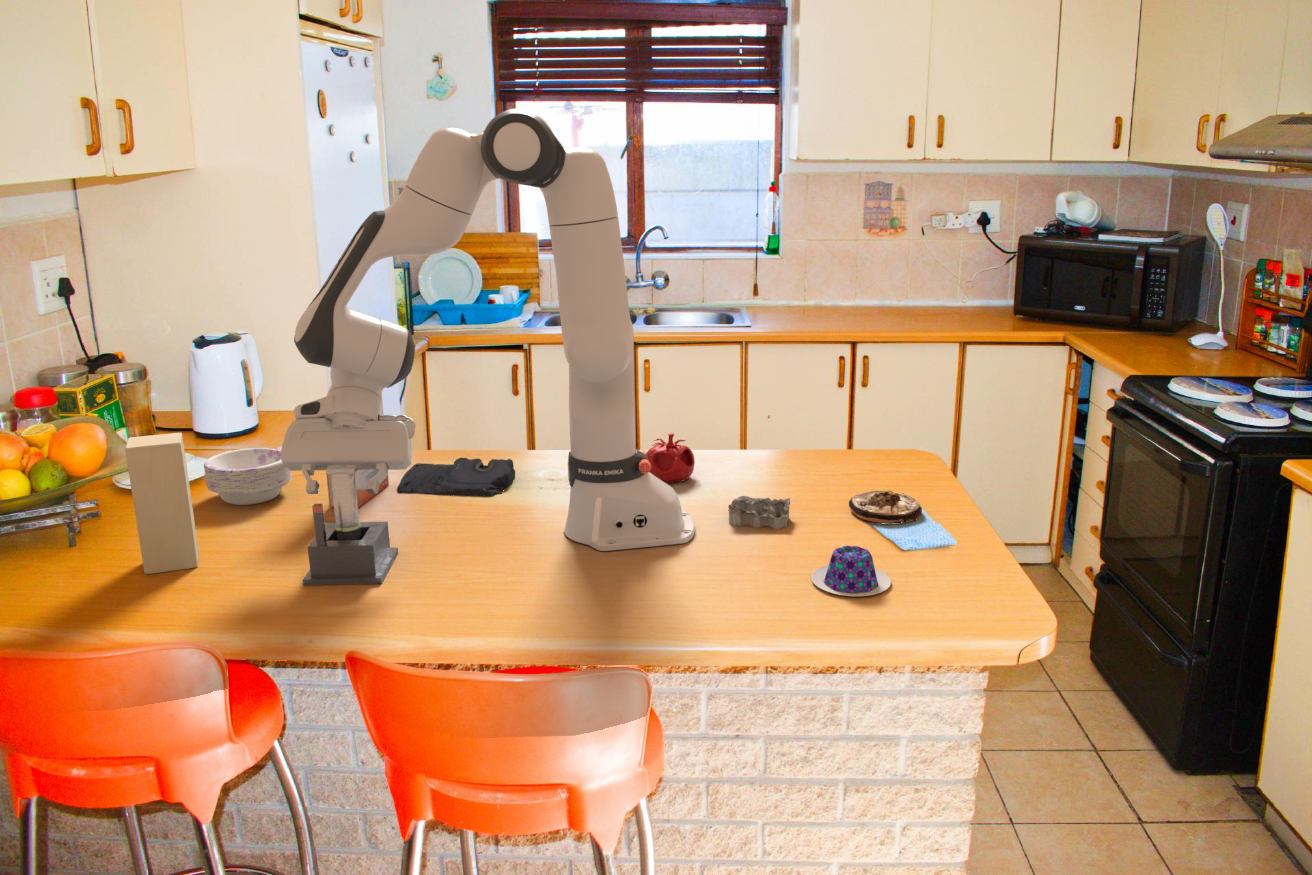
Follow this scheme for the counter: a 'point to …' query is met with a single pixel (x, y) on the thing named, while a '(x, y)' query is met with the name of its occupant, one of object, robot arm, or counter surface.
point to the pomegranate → (671, 461)
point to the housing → (348, 554)
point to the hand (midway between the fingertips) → (341, 492)
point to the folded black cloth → (459, 478)
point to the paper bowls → (247, 475)
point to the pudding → (851, 573)
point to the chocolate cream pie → (884, 507)
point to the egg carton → (759, 512)
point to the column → (345, 501)
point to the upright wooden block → (162, 502)
